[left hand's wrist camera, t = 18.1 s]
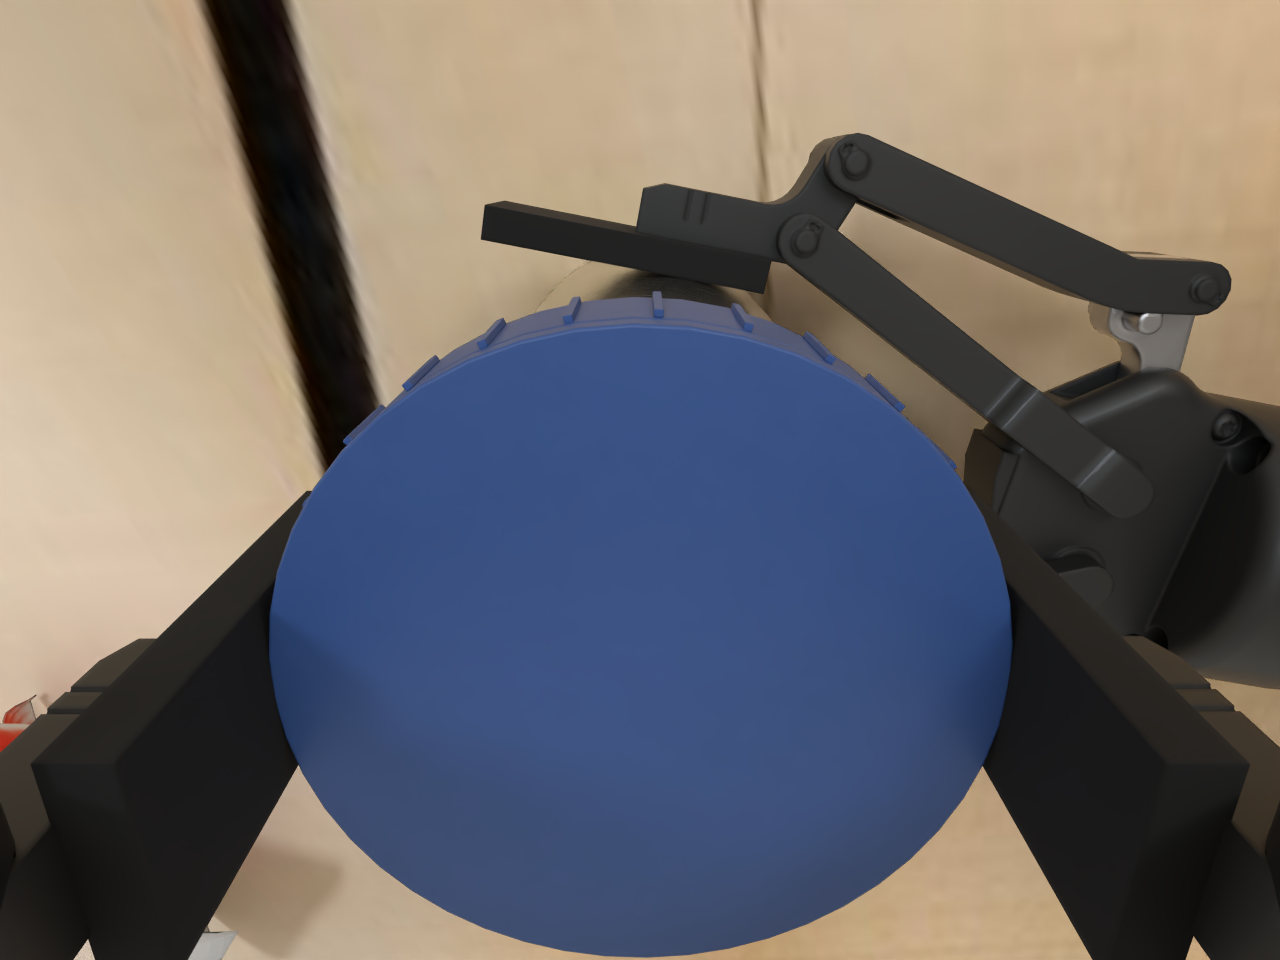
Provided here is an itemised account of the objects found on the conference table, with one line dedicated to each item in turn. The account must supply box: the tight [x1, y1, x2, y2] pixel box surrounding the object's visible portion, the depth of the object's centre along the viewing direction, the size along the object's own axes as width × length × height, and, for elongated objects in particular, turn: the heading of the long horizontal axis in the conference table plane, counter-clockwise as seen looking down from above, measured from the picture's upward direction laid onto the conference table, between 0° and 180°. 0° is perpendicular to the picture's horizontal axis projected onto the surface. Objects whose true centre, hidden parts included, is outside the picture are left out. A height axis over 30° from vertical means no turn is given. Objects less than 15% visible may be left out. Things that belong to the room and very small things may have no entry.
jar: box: [535, 261, 773, 322], centre depth 20 cm, size 8×8×15 cm
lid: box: [269, 291, 1013, 958], centre depth 11 cm, size 10×10×2 cm
